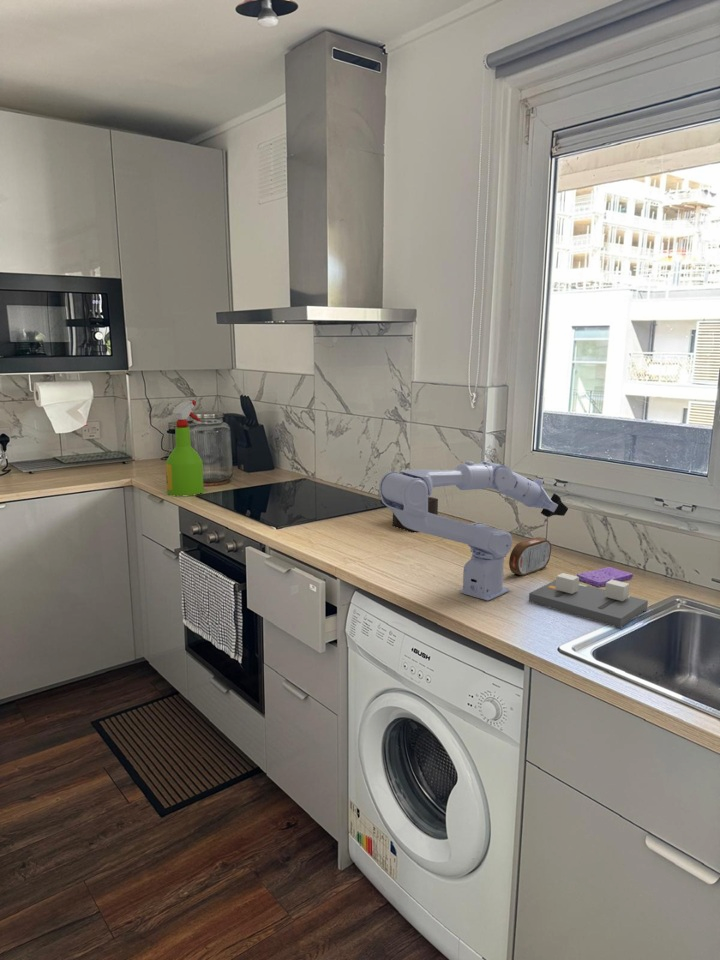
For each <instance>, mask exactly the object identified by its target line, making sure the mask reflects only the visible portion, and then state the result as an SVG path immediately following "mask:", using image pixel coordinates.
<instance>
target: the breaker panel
mask: <svg viewBox="0 0 720 960" xmlns="http://www.w3.org/2000/svg"><path fill="white" fill-rule="evenodd" d="M528 602H529V603H532V604H536V605H538V606H543V607H547V608H550V609H554V610H557V611H560V612H563V613H568V614H572V615H575V616H578V617H581V618H584V619H588V620H591V621H595V622H600V623H602V624H606V625H610V626H612V625H614V626H613V627H616V628H619V629H621V628H622V627H623V626H625V625H626V624H628V623H629V622H631V621H633V620H634V619H636V617H638V616H640V615H641V614H642V613H644V612H645V611H647V610H648V603H649V601H648V600H646V599H643V598H638V597H635V596H631V595H629V596H628V598H627V599H625V600H624V601H620V600H616V599H612V598H608V597H605V589H604V588H603V589H602V588H601V587H597V586H593V585H592V586H591V585H587V584H585V583H580V582H579V587H578V591H576V592H575V593H573V594H570V593H567V592H563V591H559V590H556V579H555V580H553V581H551V582H549V583H547V584H544V585H543V586H541V587H539V588H537V589H535V590H533V591H531V592H529V593H528ZM646 609H647V610H646ZM643 611H644V612H643ZM639 614H640V615H639Z"/></svg>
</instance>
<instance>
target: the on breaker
mask: <svg viewBox="0 0 720 960" xmlns="http://www.w3.org/2000/svg"><path fill="white" fill-rule="evenodd" d="M604 590H605V597H608V598H612V599H616V600H620V601H624V600H625V599H627V598H628V596H630V594H629V593H630V583H628V582H624V581H621V582H620V581H616V580H610V581H608V582H606V586H605V589H604Z"/></svg>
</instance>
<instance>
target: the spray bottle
mask: <svg viewBox="0 0 720 960" xmlns="http://www.w3.org/2000/svg"><path fill="white" fill-rule="evenodd" d="M196 405H197V401H196V400H194V399H191V400H187V401H186V400H185V401H184V402H181V403H179V404H177V405H176V407H174V409H173V411H172V412H171V413H172V414H176V424H175V425H176V426H175V427H174V429H175V430H174V431H175V435H174V436H175V447H174V448H173V449H172V451H171V452H170V453H169V456H168V457H167V459H166V461H165V472H166V473H165V474H166V489H167V490H166V491H167V493H168V494H169V495H168V494H167V495H168V496H170V495H175V496H174V497H177V495H179V496H183V495H194V494H199V493H202V494H204V493H203V492H204V491H205V489H204V466H203V461H204V460H203V459H202V458H201V456H200V454H199V453H198V452H197V451H196V450H195V449H194V448H193V447H192V444H191V433H190V432H191V431H190V430H191V428H190V426H189V422H188V420H187V419H188V418H189V417H190V418H192V419H194V420H195V421H196V422H203V420H201V419H200V418H199V417H198V416H197V415H195V414H194V407H195V406H196Z"/></svg>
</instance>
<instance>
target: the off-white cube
mask: <svg viewBox="0 0 720 960" xmlns="http://www.w3.org/2000/svg"><path fill="white" fill-rule="evenodd" d="M555 580H556V590H559V591H563V592H567V593H570V594H573V593H575V592H576V591H578V587H579V583H580V580H579V577H577V575H573V574H568V573H564V572H562V573H559V574H557V575H556V578H555Z"/></svg>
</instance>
